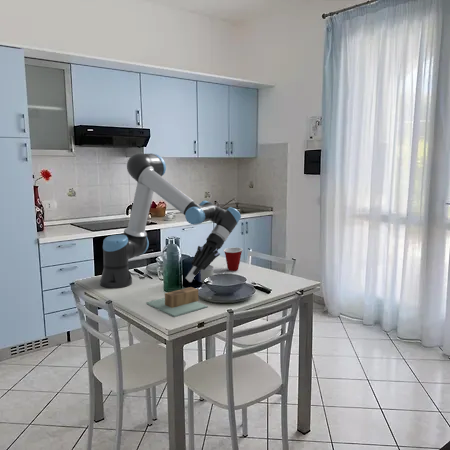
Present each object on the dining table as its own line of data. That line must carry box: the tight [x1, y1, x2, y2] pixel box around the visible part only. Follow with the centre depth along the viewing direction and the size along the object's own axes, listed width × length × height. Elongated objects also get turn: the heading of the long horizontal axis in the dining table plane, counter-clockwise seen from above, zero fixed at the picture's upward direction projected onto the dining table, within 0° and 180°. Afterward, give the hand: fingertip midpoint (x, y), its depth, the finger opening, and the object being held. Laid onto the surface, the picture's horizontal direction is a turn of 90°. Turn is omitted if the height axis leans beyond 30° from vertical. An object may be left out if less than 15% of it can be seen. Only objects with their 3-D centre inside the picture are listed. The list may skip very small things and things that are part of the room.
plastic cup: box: [223, 246, 243, 272], centre depth 236 cm, size 11×11×12 cm
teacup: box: [201, 264, 215, 284], centre depth 212 cm, size 14×11×8 cm
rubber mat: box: [146, 297, 208, 318], centre depth 177 cm, size 20×17×1 cm
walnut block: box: [164, 286, 199, 308], centre depth 179 cm, size 5×5×14 cm
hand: (188, 280), depth 180 cm, fingers closed
